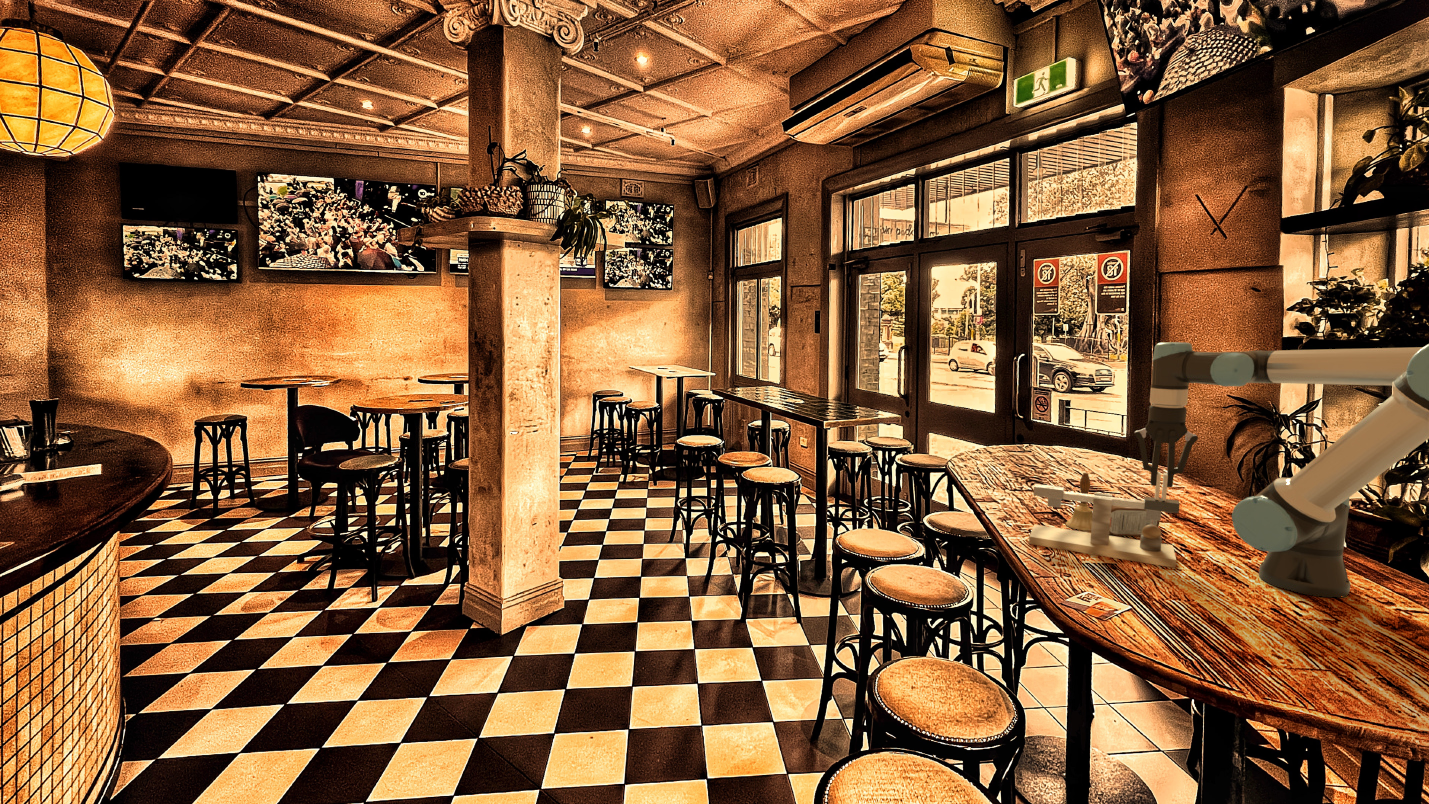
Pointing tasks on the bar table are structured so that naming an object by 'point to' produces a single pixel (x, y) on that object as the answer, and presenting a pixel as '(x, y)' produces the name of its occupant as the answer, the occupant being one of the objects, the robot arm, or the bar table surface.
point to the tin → (1129, 521)
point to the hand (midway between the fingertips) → (1160, 498)
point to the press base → (1102, 550)
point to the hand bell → (1082, 509)
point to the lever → (1148, 504)
